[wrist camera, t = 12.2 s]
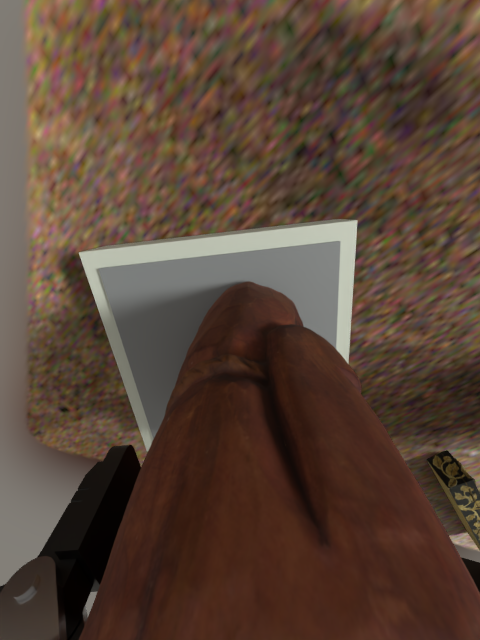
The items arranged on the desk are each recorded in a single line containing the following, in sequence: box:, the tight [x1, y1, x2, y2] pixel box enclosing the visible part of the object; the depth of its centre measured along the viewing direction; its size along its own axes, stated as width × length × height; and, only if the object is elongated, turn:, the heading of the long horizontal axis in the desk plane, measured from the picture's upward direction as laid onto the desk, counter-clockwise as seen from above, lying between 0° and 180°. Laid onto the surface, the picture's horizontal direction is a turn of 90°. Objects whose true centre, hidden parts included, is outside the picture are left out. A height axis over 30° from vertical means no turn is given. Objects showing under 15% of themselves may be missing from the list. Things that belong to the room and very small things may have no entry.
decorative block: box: [427, 451, 480, 550], centre depth 27 cm, size 15×2×4 cm, turn 34°
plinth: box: [79, 219, 357, 451], centre depth 19 cm, size 16×16×4 cm
